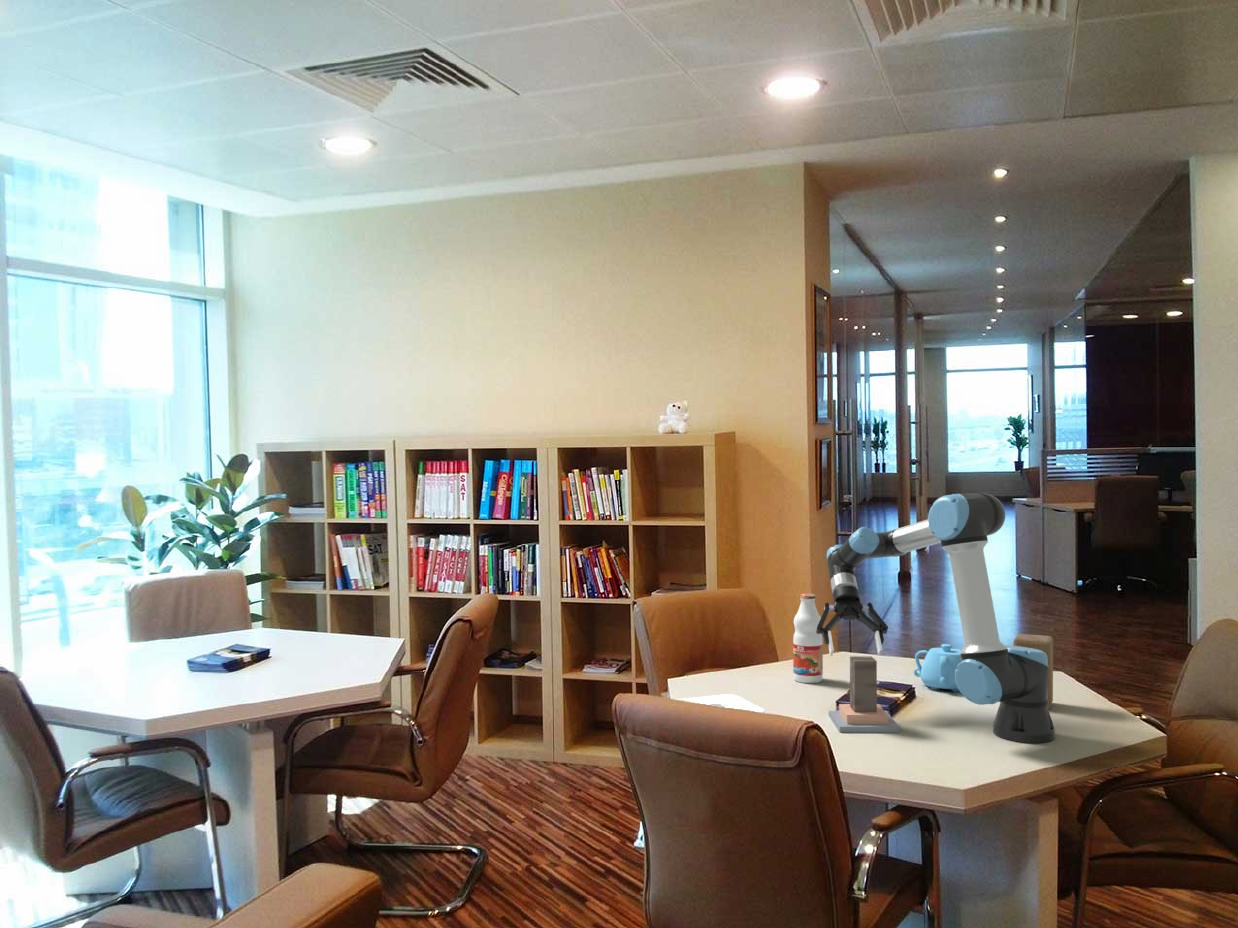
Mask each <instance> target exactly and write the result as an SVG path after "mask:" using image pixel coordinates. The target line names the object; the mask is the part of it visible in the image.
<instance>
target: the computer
mask: <svg viewBox="0 0 1238 928" xmlns="http://www.w3.org/2000/svg"><path fill="white" fill-rule="evenodd" d="M676 699H677V698H676ZM677 700H685V701H690V702H695V703H700V704H706V705H712V706H718V707H725V708H734V709H743V710H750V711H755V712H761V713H765V712H766V710H765V708H763V707H760V706H759V705H756V704H754V703H752V701H751V702H750V701H749V700H747V699H745V698H743V697H741V696H739V695H737V694H732V693H726V694H714V695H704V696H697V697H696V696H695V697H688V698H687V697H686V698H678V699H677Z"/></svg>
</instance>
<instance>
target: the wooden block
mask: <svg viewBox="0 0 1238 928" xmlns="http://www.w3.org/2000/svg"><path fill="white" fill-rule="evenodd" d="M1013 646H1020V647H1027V648H1033V649H1037V650H1041V651H1043V652H1045V653H1046V655H1047V660H1048V666H1049V667H1048V710H1050V709H1051V707H1052V704H1053V701H1054V639H1053V637H1052V636H1051V635H1041V634H1029V633H1018V634H1016V636H1015V638H1014V640H1013Z"/></svg>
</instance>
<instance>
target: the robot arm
mask: <svg viewBox="0 0 1238 928" xmlns="http://www.w3.org/2000/svg"><path fill="white" fill-rule="evenodd" d="M1005 520H1006V509H1005V507H1004V504H1003V503H1002V502H1001V500H999V499H998V498H997V497H995V496H994V495H992V494H989V493H986V492H976V493H952V494H947V495H942V496H940V497H938V498H937V499H936V500H935V501H934V502H933V504H932V506H930V508H929V512H928V516H927V519H924V520H921V521H918V522H915V523H912V524H908V525H905V526H902V527H899V528H896V529H892V530H889V531H883V532H875V530H873V529H871V528H868V527H866V526H862V527H859V528H858V529H856V531H854V532H853V533H852V534H851V535H850V537H848V539H846V541H845V542H844V543H843V544H835V545H834V546H831V547H830V548H828V549H827V551H826V565H827V569H828V575H829V580H830V586H831V587H830V588H831V592H832V599H833V605H832V604H830V603H828V602H825V604H824V607H823V613H822V615H821V616H820V617H821V619H820V621H819V624H818V626H817V630H816V633H817V634H822V638H823V643H824V644H825V645H828V651H829V656H830V657H833V656H834V652H835V651H834V650H835V649H834V648H835V647H834V642H833V637H832V631H831V630H833V629H834V627H835V626H836V625H837V624H838V622H840V621H841V620H844V621H845V620H846V621H848V620H852V621H854V620H855V621H856V620H857V621H858V622H861V623H862V624H863V625H865V626H866V627H867V628H868V629H869V630H871V631H872V632H873V633H874V639H875V646H876V651H877V655H878V657H880V656H882V654H883V653H882V652H883V646H882V645H884V642H885V638H884V635H886V634H887V633H888V629H889V626H888V624H886V622H885V620H883V618H882V617H881V616H880V615H879V614H878V613H877V610H875V608H874V607H873V603H871V602H867V604H862V603H861V598H860V592H859V589H858V588H859V587H858V583H857V578H856V573H855V571H856V569H857V568H858V567H859V566H860V565H861V564H862V563H863V562H864V561H865V560H867V559H869V560H870V559H878V558H879V559H880V558H889V557H891V558H892V557H893V558H895V557H896V558H897V557H901V556H904V555H907V553H908V552H913V551H915V550H920V549H924V548H927V547H930V546H935V545H939V544H941V549H942V550H943V551H946V552H947V553H948V555H949V560H950V561H949V562H950V566H951V567H950V568H951V570H952V571H951V572H952V577H953V582H954V583H953V584H954V589H955V595H956V601H957V606H958V613H959V618H960V623H961V629H962V635H963V641H964V646H963V648H962V649H960V650H961V652H960V654H961V660H962V662H960V663H959V664H958V666H957V669H956V670H955V681H956V684H957V687H958V689H959V691H960V694H961V695H962V696H963V697H965V698H966V699H967V700H968V701H969V702H970V703H973V704H975V705H978V706H979V705H980V706H981V705H995V704H997V703H999V707H998V708H997V711H996V715H995V718H994V721H993V723H992V732H993V734H994V735H996V736H997V737H999V738H1001V739H1005V740H1009V741H1014V742H1021V743H1028V744H1029V743H1031V744H1032V743H1034V744H1035V743H1036V744H1037V743H1047V742H1052V741H1053V740H1055V738H1056V736H1055V735H1056V733H1055V732H1056V729H1055V726H1054V723H1053V720H1052V717H1051V713H1050V711H1049V710H1050V709H1049V710H1048V667H1049V666H1048V660H1047V655H1046V653H1045V652H1043V651H1041V650H1037V649H1033V648H1027V647H1020V646H1014V645H1010V644H1009V645H1005V644H1003V642H1001V641H1000V640H1001V639H1000V635H999V628H998V625H997V624H998V623H997V618H996V613H995V608H994V601H993V597H992V590H991V586H990V579H989V575H988V574H989V573H988V567H987V564H986V563H987V561H986V558H985V557H986V556H985V552H984V549H985V547H986V545H987V544H988V543H989V539H988V536H991V535H994V534H996V533H997V532H998V531H999V530H1001V529H1002V527H1003V526H1004V524H1005ZM832 611H834V612H835V615H834V616H833V617H832V618H831V619H830V621H829V622H828V623H826V620H827V618H828V616H829V614H830V613H831V612H832ZM864 611H865V612H864ZM865 613H866V614H868V615H866V614H865ZM825 623H826V625H825ZM824 625H825V626H824Z"/></svg>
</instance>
